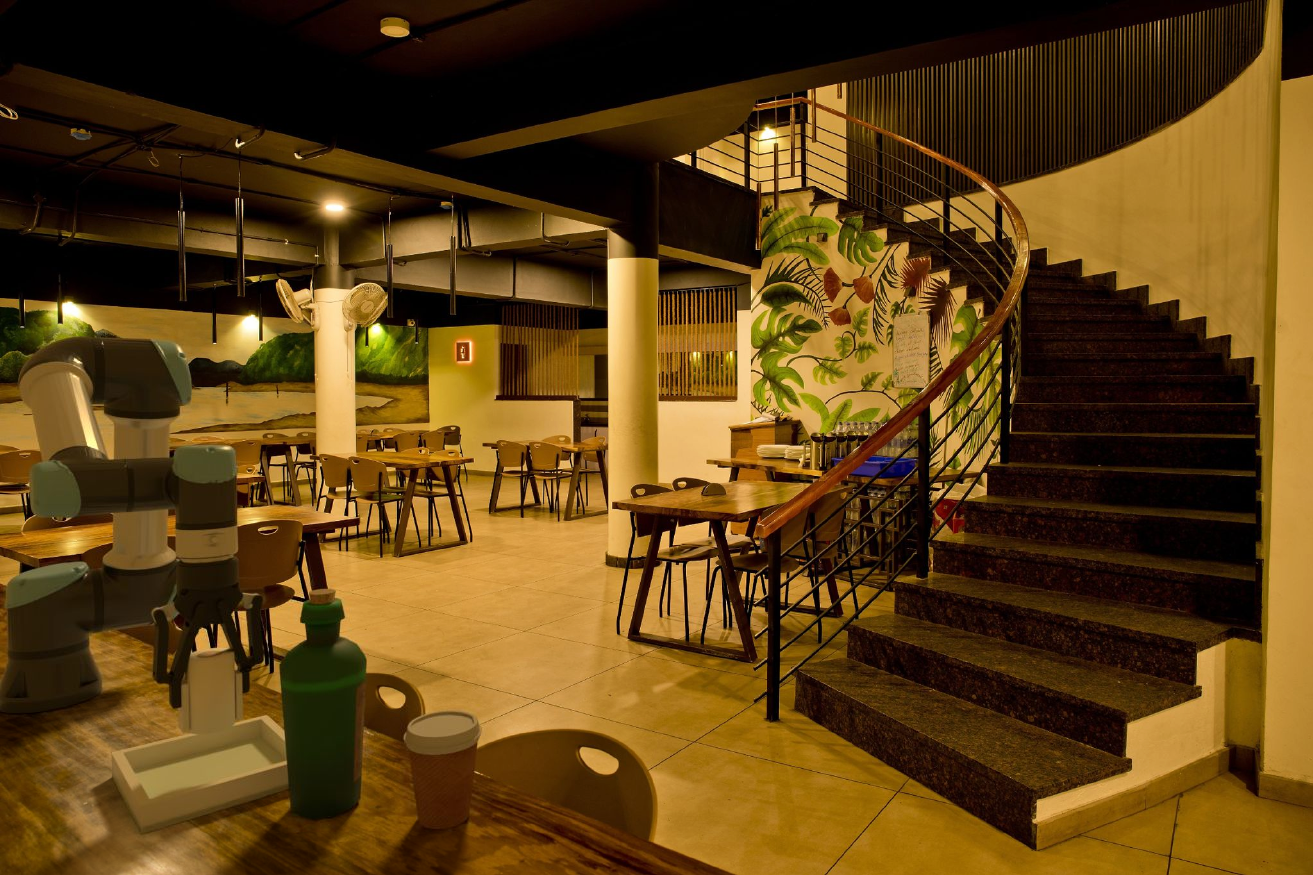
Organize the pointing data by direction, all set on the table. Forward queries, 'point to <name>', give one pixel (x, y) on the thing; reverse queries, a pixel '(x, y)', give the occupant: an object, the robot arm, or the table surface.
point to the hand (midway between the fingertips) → (211, 722)
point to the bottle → (323, 712)
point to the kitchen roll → (211, 690)
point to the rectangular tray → (201, 772)
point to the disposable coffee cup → (443, 766)
